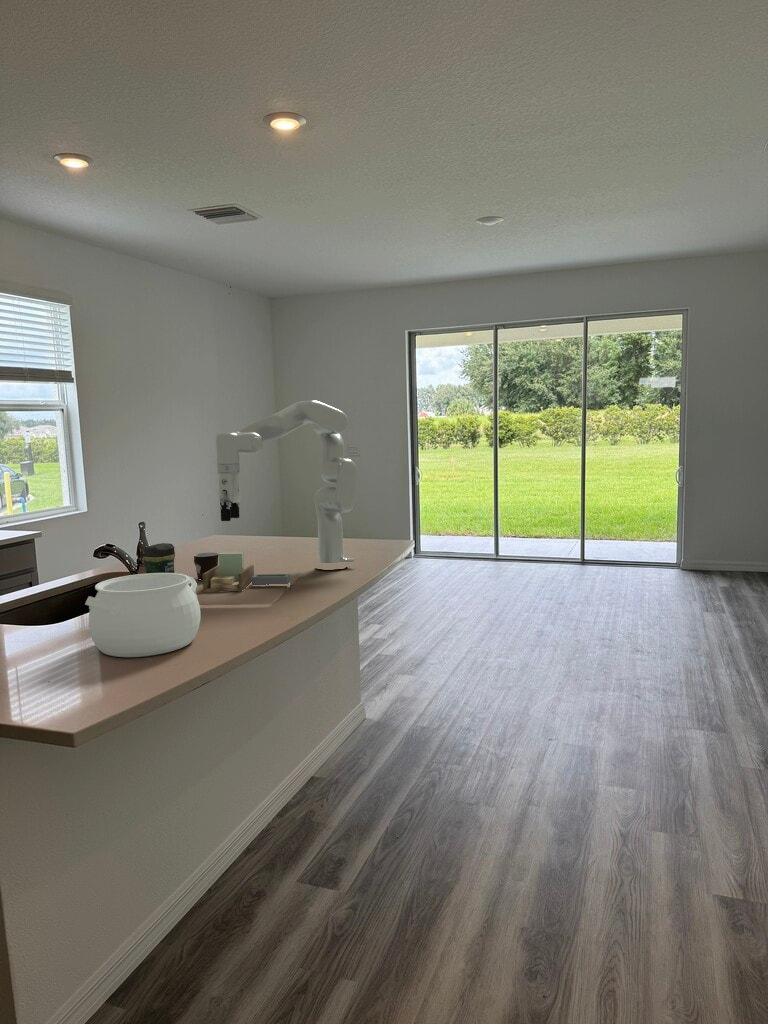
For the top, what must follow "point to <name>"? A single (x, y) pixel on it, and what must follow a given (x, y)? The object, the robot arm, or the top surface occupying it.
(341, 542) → the robot arm
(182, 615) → the pot
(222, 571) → the board
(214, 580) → the offcut top
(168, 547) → the coffee jar
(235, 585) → the offcut low
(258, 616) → the top surface
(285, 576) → the holder
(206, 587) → the rack
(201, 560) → the coffee mug
